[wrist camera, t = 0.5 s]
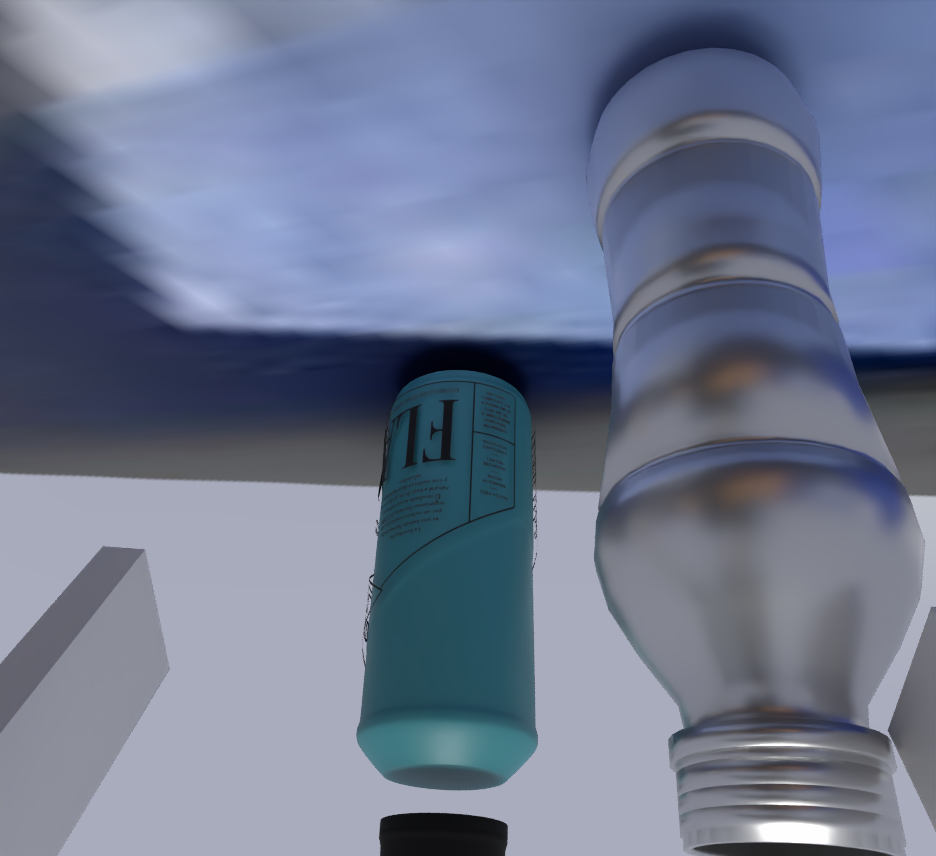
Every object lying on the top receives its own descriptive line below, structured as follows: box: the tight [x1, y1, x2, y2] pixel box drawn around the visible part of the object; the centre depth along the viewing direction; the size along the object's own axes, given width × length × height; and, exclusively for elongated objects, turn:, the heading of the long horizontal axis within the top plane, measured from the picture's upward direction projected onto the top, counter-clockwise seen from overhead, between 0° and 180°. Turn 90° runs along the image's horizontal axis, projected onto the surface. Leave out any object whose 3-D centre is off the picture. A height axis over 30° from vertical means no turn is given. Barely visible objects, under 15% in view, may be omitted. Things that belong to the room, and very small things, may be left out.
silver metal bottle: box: [586, 48, 925, 856], centre depth 19 cm, size 6×7×20 cm
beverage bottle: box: [357, 370, 538, 856], centre depth 30 cm, size 6×7×20 cm
